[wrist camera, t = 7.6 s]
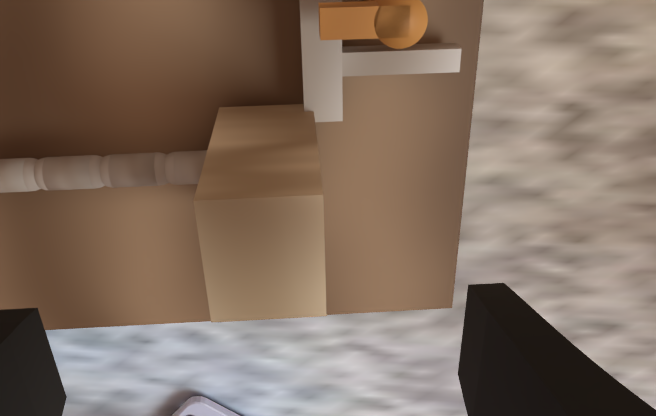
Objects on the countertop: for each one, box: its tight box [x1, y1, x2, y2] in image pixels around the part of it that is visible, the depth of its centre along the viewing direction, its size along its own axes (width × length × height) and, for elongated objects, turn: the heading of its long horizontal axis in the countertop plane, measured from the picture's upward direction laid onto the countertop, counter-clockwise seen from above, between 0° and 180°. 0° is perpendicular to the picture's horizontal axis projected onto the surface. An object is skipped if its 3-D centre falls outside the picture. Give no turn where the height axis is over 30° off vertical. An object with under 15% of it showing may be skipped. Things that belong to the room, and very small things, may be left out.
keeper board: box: [0, 0, 484, 330], centre depth 16 cm, size 24×12×4 cm, turn 91°
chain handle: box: [0, 0, 462, 322], centre depth 13 cm, size 18×7×5 cm, turn 91°
